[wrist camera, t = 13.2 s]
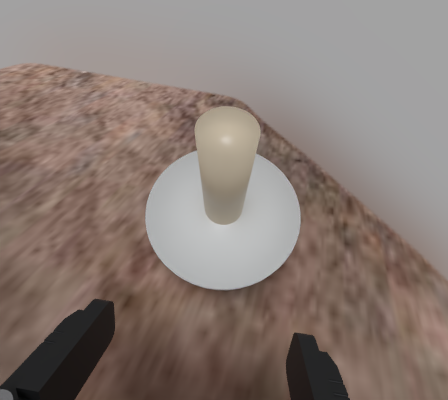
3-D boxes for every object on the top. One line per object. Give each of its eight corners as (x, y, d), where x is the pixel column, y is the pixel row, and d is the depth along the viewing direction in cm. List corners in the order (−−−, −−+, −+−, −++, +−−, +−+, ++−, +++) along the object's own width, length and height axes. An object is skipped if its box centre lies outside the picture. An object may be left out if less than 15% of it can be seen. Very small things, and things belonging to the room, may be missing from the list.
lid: (119, 256, 18) (20, 201, 9) (185, 138, 23) (165, 32, 14) (278, 317, 16) (352, 324, 7) (308, 174, 22) (371, 79, 13)
